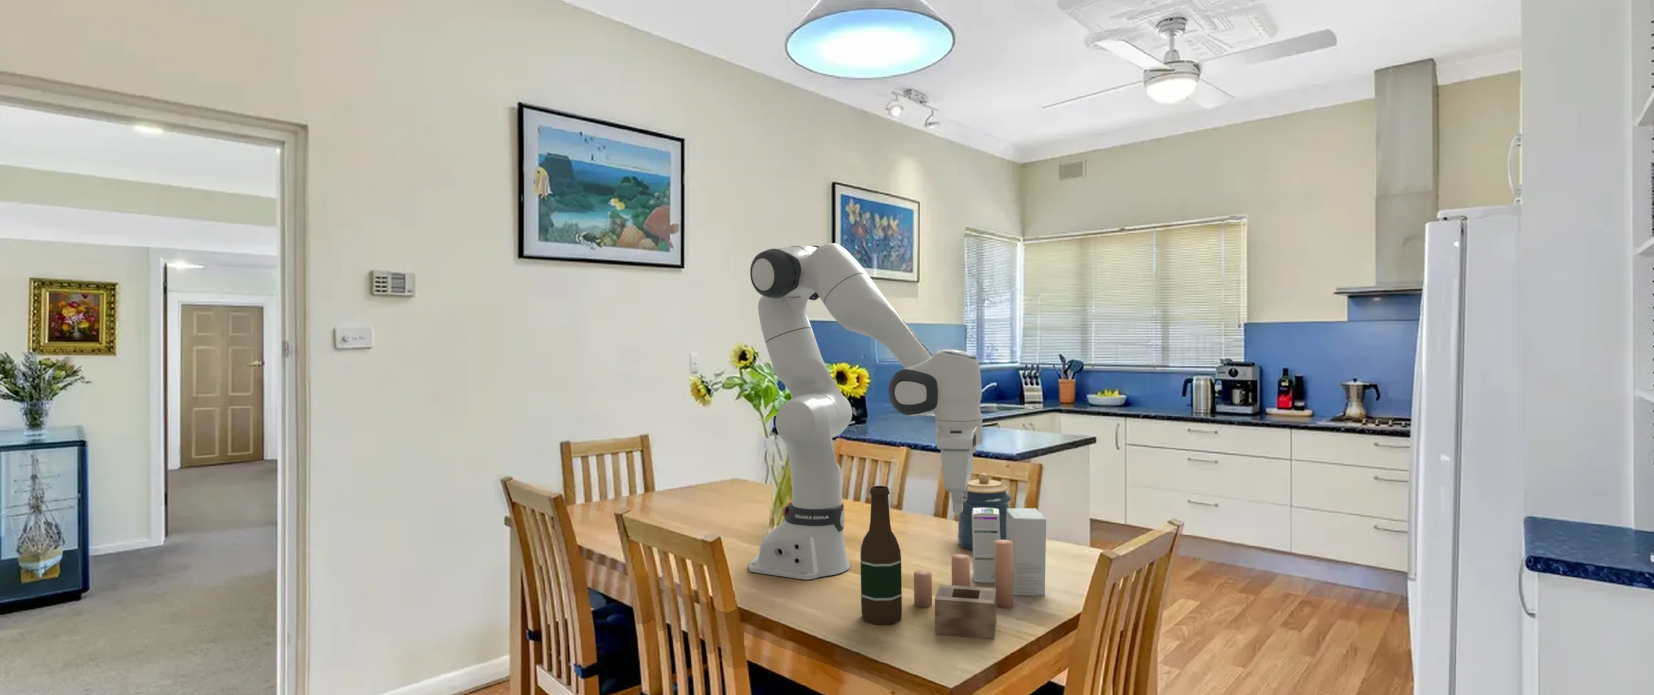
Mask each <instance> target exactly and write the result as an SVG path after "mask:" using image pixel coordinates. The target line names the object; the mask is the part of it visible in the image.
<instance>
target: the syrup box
mask: <svg viewBox="0 0 1654 695" xmlns="http://www.w3.org/2000/svg"><path fill="white" fill-rule="evenodd" d="M972 540H973V550H972V564H973V565H972V570H973V582H974V583H981V584H982V583H984V584H995V562H994V541H996V540H1001V537H1000V519H999V509H997V508H973V511H972Z"/></svg>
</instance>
